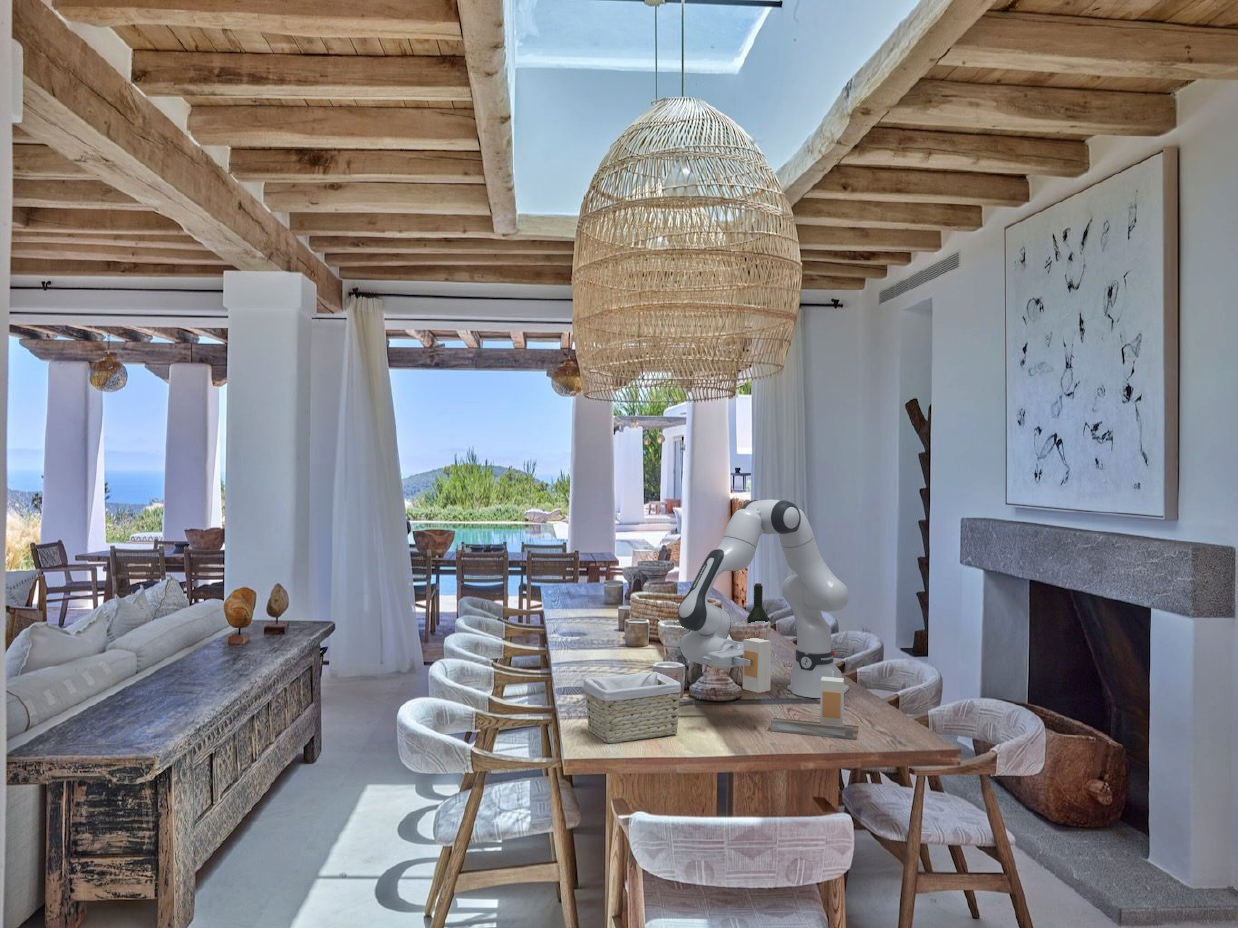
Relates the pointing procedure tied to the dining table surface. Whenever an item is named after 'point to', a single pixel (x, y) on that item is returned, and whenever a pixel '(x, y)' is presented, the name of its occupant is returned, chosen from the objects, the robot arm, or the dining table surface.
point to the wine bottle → (757, 606)
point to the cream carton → (757, 665)
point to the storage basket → (632, 706)
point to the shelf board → (813, 728)
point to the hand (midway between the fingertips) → (759, 661)
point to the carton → (832, 701)
